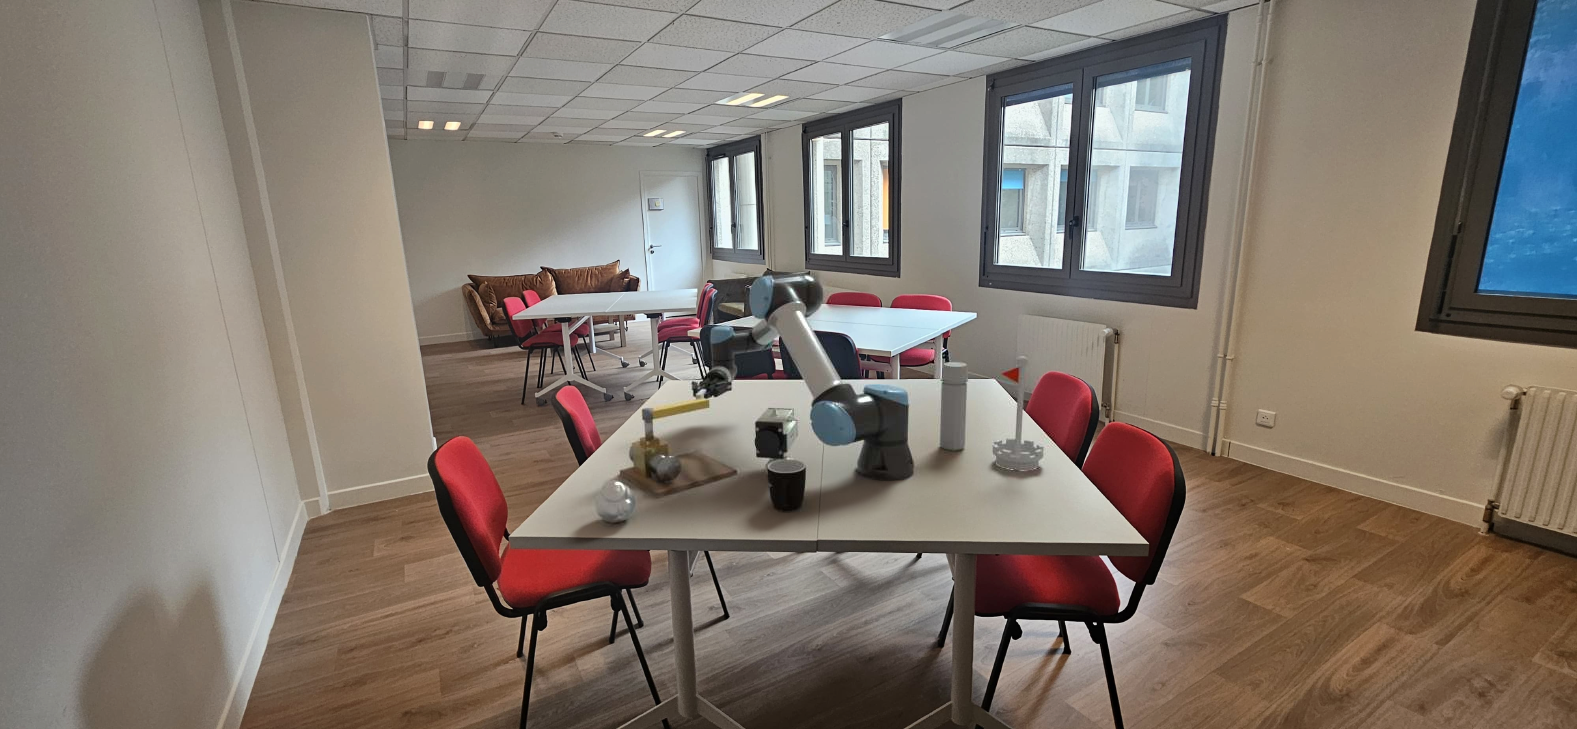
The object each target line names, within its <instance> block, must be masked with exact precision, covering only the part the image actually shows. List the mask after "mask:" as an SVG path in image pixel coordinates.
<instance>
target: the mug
mask: <svg viewBox="0 0 1577 729" xmlns="http://www.w3.org/2000/svg"><path fill="white" fill-rule="evenodd" d="M767 470H768V475H767V481H768V482H767V483H768V490H769V496H770V499H771V503H772V506H773V508H774V509H775V510H777V511H779V512H784V511H785V512H786V511H789V512H794V511H797V510H799V509H800V508H801V506H802V505H803V502H804V498H805V492H806V478H807V476H806V474H807V467H806V463H805V462H803V461H801V460H798V459H794V460H792V459H783V460H777V461H774V462H771V463H770V464H769V465H768V469H767Z"/></svg>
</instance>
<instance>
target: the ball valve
mask: <svg viewBox="0 0 1577 729" xmlns="http://www.w3.org/2000/svg"><path fill="white" fill-rule="evenodd" d="M794 412H795V411H794V408H785V407H784V408H782V407H781V408H780V407H779V408H778V407H776V408H775V407H768V408H767V409H766V410H765V411H764V412H763V413H762V414H761V416H759V417H758V419H757V420H755V422H754V426H755V428H754V429H755V432H754V433H755V438H754V446H755V456H756V458H761V459H768V461H767V462H766V463H765V466H764V471H765V473H766V475H767V476H768V470H767V469H768V465H769V464H770V463H771V462H774V461H777V460H783V459H792V460H795V459H794V458H793V457H790V456H786V455H787V454H788V453H789V451H790V449H791V447H792V446H793V444H794V443H795V441H796V439H797V437H798V435H799V434H798V419H795V413H794Z"/></svg>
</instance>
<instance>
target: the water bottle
mask: <svg viewBox="0 0 1577 729" xmlns="http://www.w3.org/2000/svg"><path fill="white" fill-rule="evenodd" d="M968 377H969V375H968V364H967V363H965V362H959V361H958V362H956V361H955V362H954V361H950V362H944V363H943V368H942V375H941V379H939V380H940V381H941V390H940V391H941V392H940V394H941V395H940V397H941V398H940V430H939V445H940V447H941V448H942V449H944V450H947V451H952V452H953V451H954V452H955V451H961V450H963V449H964V448H965V447H966V428H967V427H966V426H967V425H966V423H967V422H966V421H967V420H966V418H967V398H968V397H967V393H968V391H967V390H968V383H967V382H969V378H968Z"/></svg>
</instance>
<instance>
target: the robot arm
mask: <svg viewBox="0 0 1577 729" xmlns="http://www.w3.org/2000/svg"><path fill="white" fill-rule="evenodd" d="M824 295H825V294H824V290H823V287H822V285H821V283H820V281H818V280H817V279H816V277H813V276H811V275H810V274H807V273H793V274H791V273H789V274H779V275H778V274H777V275H775V274H774V275H771V274H769V275H766V276H759V277H757V278H756V279H755V280H754V281H753V283H752V285H751V287H750V290H749V298H748V299H749V302H748V303H749V308H750V311H751V314H752V315H753V317H754V318H756V319H759V320H760V321H759V322H757V323H756V324H755V325H754V326H753V327H751V328H750V329H744V330H743V329H742V330H734V328H733V327H732V326H730V325H721V326H713V328H711V330H710V341H709V342H710V349H711V350H710V352H711V369H710V370H709V371H708V372H707V373H706V374H705V375H704V377H703V378H702V380H701V381H697V382H696V381H691V390H692V397H693V398H695V400H698V399H703V398H705V399H708V400H709V399H710V398H712V397H713V398H717V397H719V396H722V395H723V394H725V393H727V392H730V391H732V390H733V387H732V386H733V382H734V380H735V379H736V376H737V373H738V368H737V365H736V364H735V354H743V353H752V352H757V351H758V352H759V351H761V352H762V351H765V350H770V349H771V348H773V344H774V343H775V339H776V338H778V337H779V336H780V338H781V340H782V342H783V344H784V346H785V348H786V349H787V352H788V353H789V355H790V357H791V358H792V361H793V362H794V365H795V366H796V367H797V370H798V372H799V375H800V376H801V377H802V379H803V381H804V383H805V384H806V387H807V389H808V391H809V392H810V394H811V395H812V397H813V398H812V401H811V404H810V405H811V410H810V413H809V420H811V423H810V425H811V428H812V431H813V433H814V434H815V436H816V438H818V440H819V441H821V443H823V444H824V445H826V446H830V447H839V446H847V445H851V444H853V443H857V442H861V441H863V444H862V446H861V449H860V452H859V455H858V458H857V462H856V470H857V472H858V473H859V474H860V475H862V476H863V477H866V478H869V479H874V480H881V481H896V480H903V479H906V478H909V477H910V476H912V475H914V472H915V462H914V459H913V456H912V452H911V450H910V447H909V441H908V440H909V436H908V435H909V409H910V404H909V394H908V392H907V390H905V389H904V388H901V387H898V386H894V385H887V384H877V383H874V384H873V383H872V384H866V385H864V387H863V390H862V392H863V393H859V394H857V393H856V391H855V390H854V388H853V386H852V384H851V383H849V382H844V381H843V380H842V379H841V377H840V375H839V373H838V372H837V369H836V368H835V366H834V365H833V363H832V361H831V359H830V357H829V356H828V353H826V350H825V349H824V347H823V346H822V344H821V342H820V340H819V338H818V336H817V335H816V333H815V330H814V329H813V328H812V325H810V322H809V321H808V318H809V317H811V316H812V315H814V314H815V313H816V312H817V311H818V310H819V309H820V308H821V306H822V304H823V302H824V297H825V296H824Z"/></svg>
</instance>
